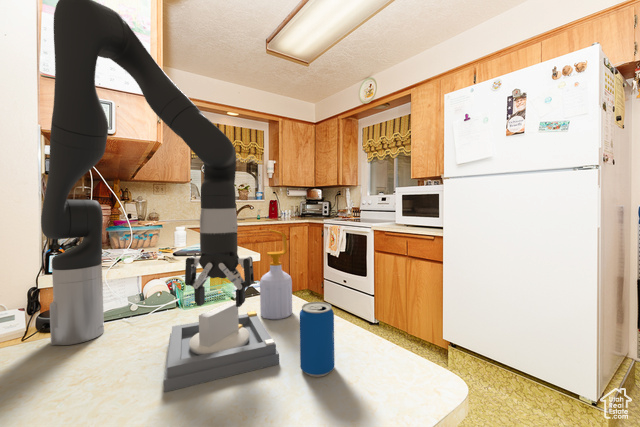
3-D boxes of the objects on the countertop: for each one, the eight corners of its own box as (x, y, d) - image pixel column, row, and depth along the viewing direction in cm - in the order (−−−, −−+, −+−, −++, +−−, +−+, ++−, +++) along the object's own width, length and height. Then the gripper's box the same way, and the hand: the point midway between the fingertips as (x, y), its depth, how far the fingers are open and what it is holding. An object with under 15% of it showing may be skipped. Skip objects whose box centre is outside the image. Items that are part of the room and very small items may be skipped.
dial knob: (222, 361, 54) (221, 323, 54) (176, 349, 59) (175, 315, 59) (260, 334, 65) (260, 303, 65) (219, 326, 70) (218, 297, 70)
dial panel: (164, 392, 49) (163, 366, 49) (170, 342, 67) (169, 323, 67) (279, 363, 57) (278, 342, 57) (256, 326, 75) (256, 309, 75)
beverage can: (331, 381, 51) (330, 313, 51) (296, 377, 53) (295, 311, 52) (336, 361, 58) (336, 301, 57) (305, 358, 59) (304, 300, 59)
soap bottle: (259, 310, 87) (257, 228, 86) (289, 307, 89) (287, 227, 89) (262, 322, 78) (260, 230, 77) (295, 317, 81) (294, 229, 80)
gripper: (176, 231, 59) (178, 310, 59) (245, 231, 58) (246, 312, 58) (195, 228, 66) (197, 298, 67) (256, 228, 65) (257, 300, 66)
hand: (220, 305), depth 62 cm, fingers open, 8 cm apart
